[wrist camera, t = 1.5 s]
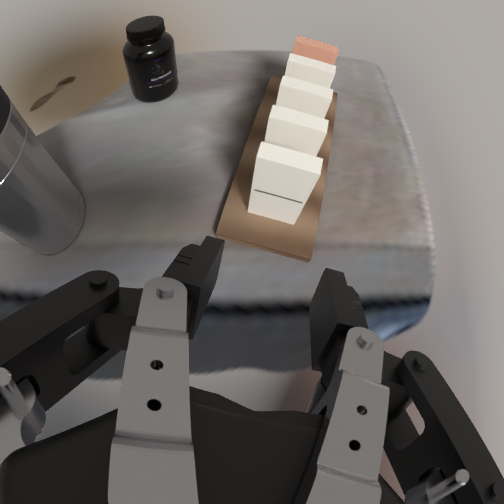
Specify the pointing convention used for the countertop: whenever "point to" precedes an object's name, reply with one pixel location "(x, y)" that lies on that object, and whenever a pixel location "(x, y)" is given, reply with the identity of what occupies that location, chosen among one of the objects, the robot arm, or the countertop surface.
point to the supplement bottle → (150, 59)
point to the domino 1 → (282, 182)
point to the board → (236, 207)
